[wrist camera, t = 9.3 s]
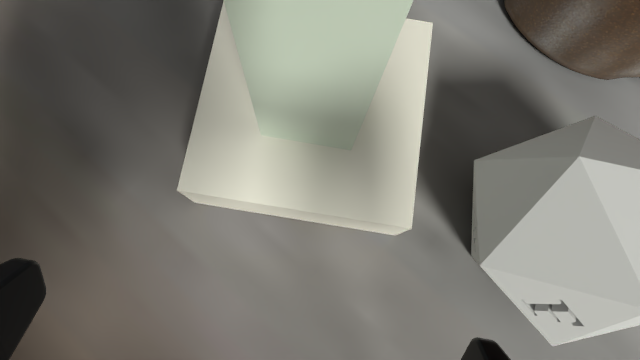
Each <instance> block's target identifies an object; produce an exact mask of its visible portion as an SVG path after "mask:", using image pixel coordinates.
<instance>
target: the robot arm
mask: <svg viewBox="0 0 640 360" xmlns="http://www.w3.org/2000/svg"><path fill="white" fill-rule="evenodd" d="M45 295H46V286H45V283H44V279H43V276H42V272H41V269H40V266H39V264H38V263H37V262H36V261H33V260H27V259H21V258H14V259H11V260H8V261H6V262H4V263H2V264H0V360H9V359H10V357H11V355H12V354H13V352H14V350H15V348H16V347H17V345H18V343H19V342H20V340H21V338H22V337H23V335H24V333H25V331H26V330H27V328H28V326H29V325H30V323H31V321H32V320H33V318H34V316H35V314H36V313H37V311H38V309H39V308H40V306H41V304H42V302H43V301H44V298H45ZM461 360H511V359H510V358H509V357H508V356H507V354H506V353H505V352H504V351H503V350H502V348H501V347H500V346H499V345H498V344H497V343H496V342H495V341H493V340H489V339H483V338H474V339H472V341H471V342H470V344H469V346H468V347H467V349H466V351H465V353H464V355H463V357H462V358H461Z"/></svg>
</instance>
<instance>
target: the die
mask: <svg viewBox="0 0 640 360" xmlns="http://www.w3.org/2000/svg"><path fill="white" fill-rule="evenodd" d="M471 256H472V257H473V259H474V260H475V261H476V262H477V263H478V264H479V265H480V266H481V267H482V269H483V270H484V271H485V272H486V273H487V274H488V275H489V276H490V277H491V279H492V280H493V281H494V282H495V283H496V284H497V285H498V286H499V287H500V289H501V290H502V291H503V292H504V293H505V294H506V295H507V296H508V297H509V298H510V300H511V301H512V302H513V303H514V304H515V305H516V306H517V307H518V308H519V310H520V311H521V312H522V313H523V314H524V315H525V316H526V317H527V318H528V320H529V321H530V322H531V323H532V324H533V325H534V326H535V327H536V328H537V330H538V331H539V332H540V333H541V334H542V335H543V336H544V337H545V338H546V339H547V341H548V342H549V343H550V344H551V345H552V346H556V345H560V344H564V343H568V342H572V341H576V340H580V339H584V338H588V337H593V336H597V335H601V334H605V333H609V332H613V331H617V330H621V329H625V328H629V327H633V326H638V325H640V140H639V139H637V138H636V137H634V136H632V135H630V134H628V133H626V132H625V131H623V130H621V129H619V128H617V127H615V126H614V125H612V124H610V123H608V122H606V121H604V120H603V119H601V118H599V117H597V116H593V117H590V118H588V119H585V120H582V121H580V122H577V123H574V124H571V125H569V126H566V127H563V128H560V129H558V130H555V131H552V132H550V133H547V134H544V135H541V136H539V137H536V138H533V139H531V140H528V141H525V142H522V143H520V144H517V145H514V146H511V147H509V148H506V149H503V150H501V151H498V152H495V153H492V154H490V155H487V156H484V157H481V158H479V159H476V160H474V179H473V210H472V241H471Z"/></svg>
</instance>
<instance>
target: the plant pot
mask: <svg viewBox="0 0 640 360" xmlns="http://www.w3.org/2000/svg"><path fill="white" fill-rule="evenodd" d="M504 4H505V8H506V10H507V12H508V14H509V16H510V18H511V19H512V21H513V22H514V24H515V25H516V27H517V28H518V29H519V31H520V32H521V33H522V34H523V35H524V36H525V37H526V39H527V40H528V41H529V42H530V43H532V44H533V45H534V46H535V47H536V48H537V49H538V50H540V51H541V52H542V53H544V54H545V55H547V56H548V57H549V58H551V59H552V60H554V61H555V62H557V63H559V64H561V65H563V66H565V67H567V68H569V69H571V70H573V71H576V72H578V73H581V74H584V75H588V76H591V77H595V78H599V79H606V80H609V79H615V78H622V77H640V0H505V2H504Z"/></svg>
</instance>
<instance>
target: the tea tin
mask: <svg viewBox="0 0 640 360" xmlns="http://www.w3.org/2000/svg"><path fill="white" fill-rule="evenodd" d="M412 3H413V0H224V4H225V7H226V11H227V14H228V18H229V22H230V25H231V29H232V32H233V36H234V40H235V43H236V47H237V50H238V54H239V58H240V61H241V65H242V68H243V72H244V76H245V79H246V83H247V86H248V90H249V94H250V97H251V101H252V104H253V108H254V112H255V115H256V119H257V122H258V126H259V129H260V133H261V135H263V136H269V137H275V138H281V139H287V140H293V141H299V142H305V143H310V144H316V145H322V146H328V147H334V148H340V149H346V150H351V149H352V147H353V145H354V142H355V140H356V137H357V135H358V133H359V130H360V128H361V125H362V123H363V121H364V118H365V116H366V113H367V111H368V109H369V106H370V104H371V101H372V99H373V96H374V94H375V92H376V89H377V87H378V84H379V82H380V80H381V77H382V75H383V72H384V70H385V68H386V65H387V63H388V60H389V58H390V56H391V53H392V51H393V48H394V46H395V43H396V41H397V39H398V36H399V34H400V31H401V29H402V27H403V24H404V22H405V19H406V17H407V15H408V12H409V10H410V7H411V5H412Z"/></svg>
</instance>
